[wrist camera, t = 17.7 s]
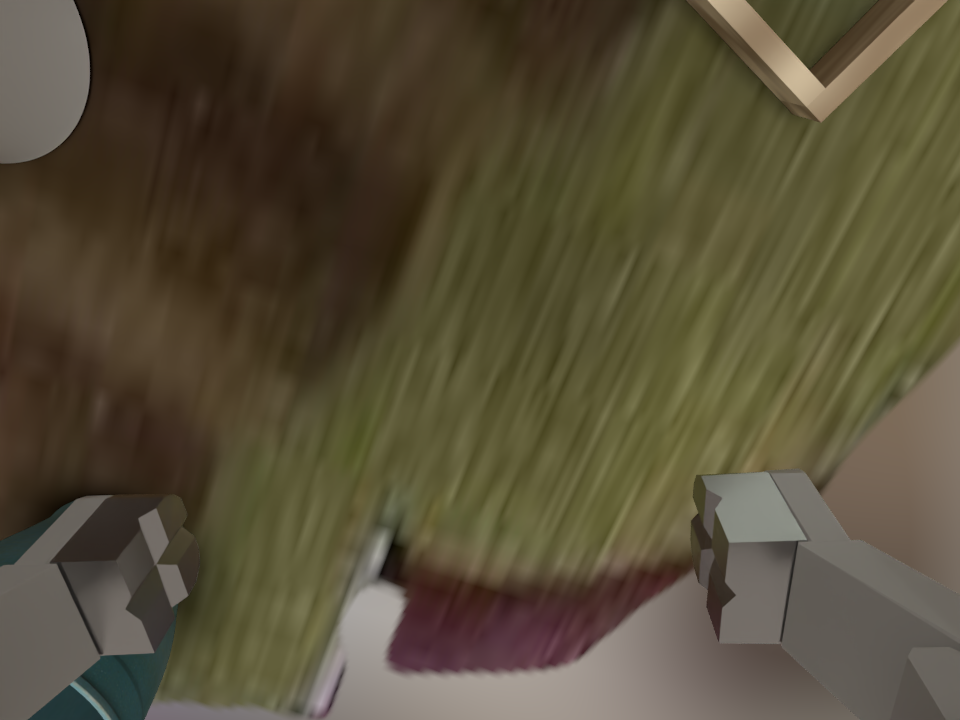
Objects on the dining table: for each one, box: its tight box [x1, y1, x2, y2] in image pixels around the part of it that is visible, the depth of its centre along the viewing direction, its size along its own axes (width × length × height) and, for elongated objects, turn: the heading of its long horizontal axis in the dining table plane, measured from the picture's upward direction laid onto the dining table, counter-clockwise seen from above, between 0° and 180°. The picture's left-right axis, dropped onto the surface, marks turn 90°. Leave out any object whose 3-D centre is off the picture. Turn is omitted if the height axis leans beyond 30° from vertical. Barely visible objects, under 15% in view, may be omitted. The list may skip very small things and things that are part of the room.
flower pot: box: [0, 501, 178, 720], centre depth 49 cm, size 18×18×17 cm
